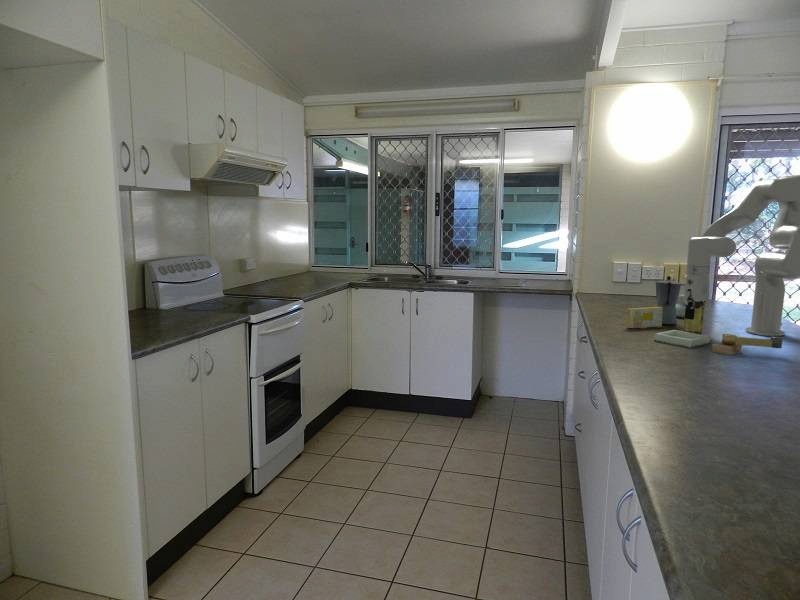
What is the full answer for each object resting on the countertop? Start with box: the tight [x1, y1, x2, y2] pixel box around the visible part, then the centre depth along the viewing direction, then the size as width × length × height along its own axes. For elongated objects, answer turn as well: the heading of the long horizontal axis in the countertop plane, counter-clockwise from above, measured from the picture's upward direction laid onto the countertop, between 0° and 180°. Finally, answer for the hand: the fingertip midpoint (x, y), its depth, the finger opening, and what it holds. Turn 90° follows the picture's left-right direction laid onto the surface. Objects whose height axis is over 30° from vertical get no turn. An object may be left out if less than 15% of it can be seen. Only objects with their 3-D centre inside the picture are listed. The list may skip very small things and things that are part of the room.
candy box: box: [626, 306, 663, 329], centre depth 218 cm, size 16×2×8 cm, turn 108°
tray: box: [653, 329, 711, 348], centre depth 193 cm, size 13×13×2 cm
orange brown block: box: [711, 341, 743, 356], centre depth 179 cm, size 8×6×3 cm
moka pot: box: [655, 275, 682, 325], centre depth 226 cm, size 10×15×20 cm, turn 161°
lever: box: [721, 333, 784, 349], centre depth 177 cm, size 17×4×3 cm, turn 66°
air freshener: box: [675, 294, 685, 319], centre depth 243 cm, size 11×8×10 cm
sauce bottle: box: [683, 299, 705, 335], centre depth 204 cm, size 6×6×20 cm
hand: (693, 317), depth 204 cm, fingers closed on sauce bottle, 6 cm apart
